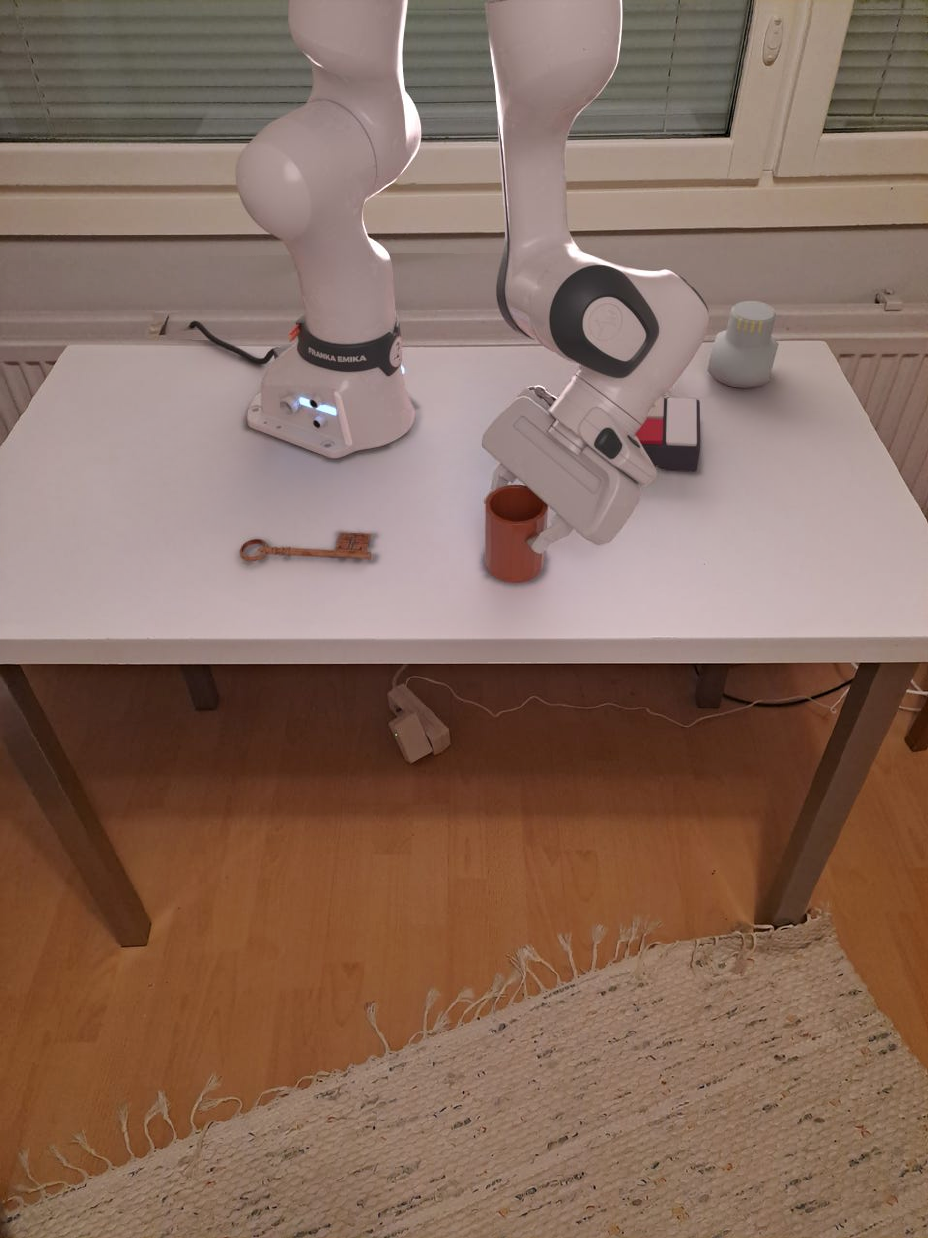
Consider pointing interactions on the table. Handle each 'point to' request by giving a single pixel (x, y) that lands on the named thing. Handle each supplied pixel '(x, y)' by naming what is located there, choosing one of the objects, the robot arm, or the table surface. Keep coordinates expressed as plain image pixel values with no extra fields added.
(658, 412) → the calculator
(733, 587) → the table surface
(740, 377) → the air freshener
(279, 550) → the key
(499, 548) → the cup
